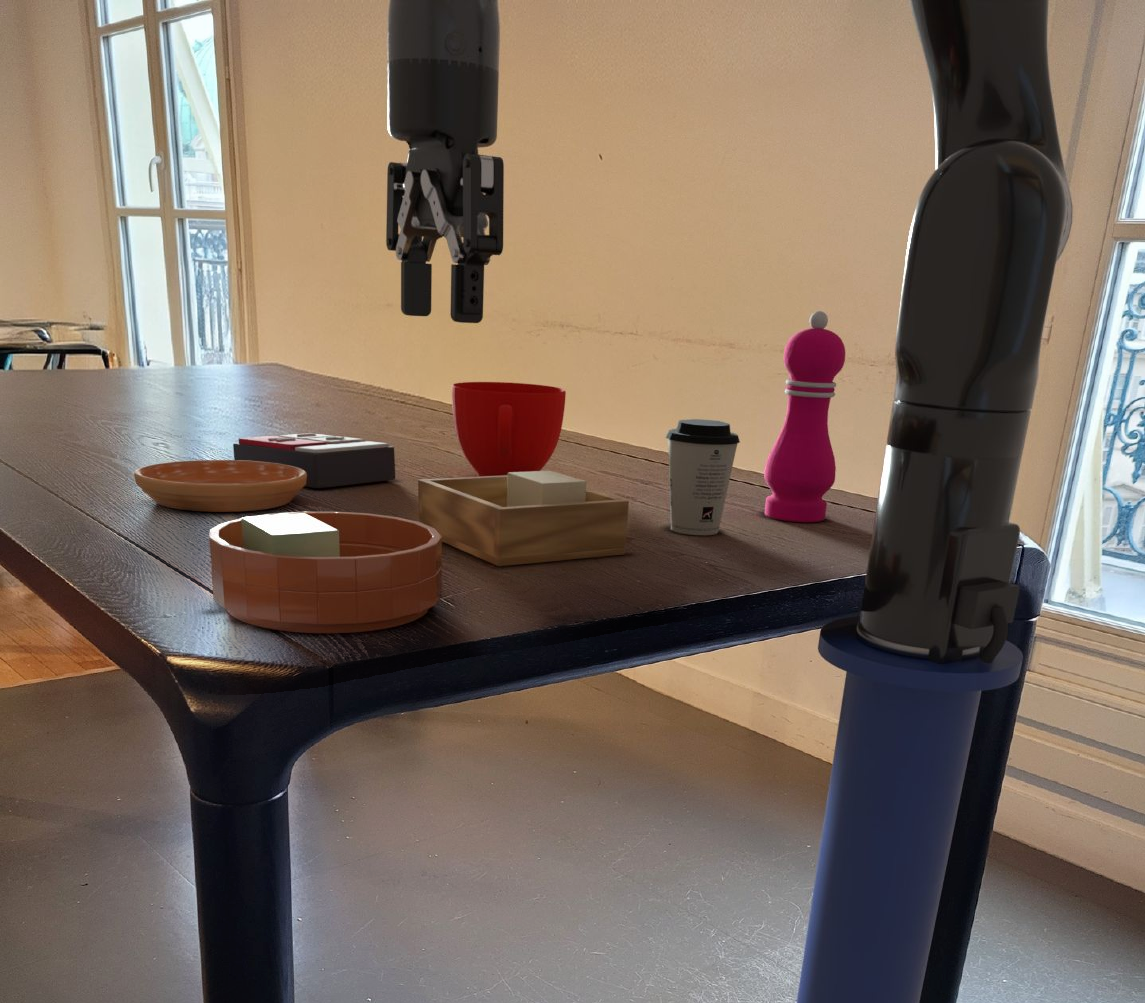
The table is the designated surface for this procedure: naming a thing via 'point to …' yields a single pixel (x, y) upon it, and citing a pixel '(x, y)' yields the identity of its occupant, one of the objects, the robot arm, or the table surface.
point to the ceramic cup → (507, 425)
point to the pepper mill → (805, 426)
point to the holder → (520, 522)
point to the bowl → (331, 576)
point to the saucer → (221, 484)
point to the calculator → (323, 457)
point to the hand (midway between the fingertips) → (440, 318)
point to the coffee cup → (699, 474)
